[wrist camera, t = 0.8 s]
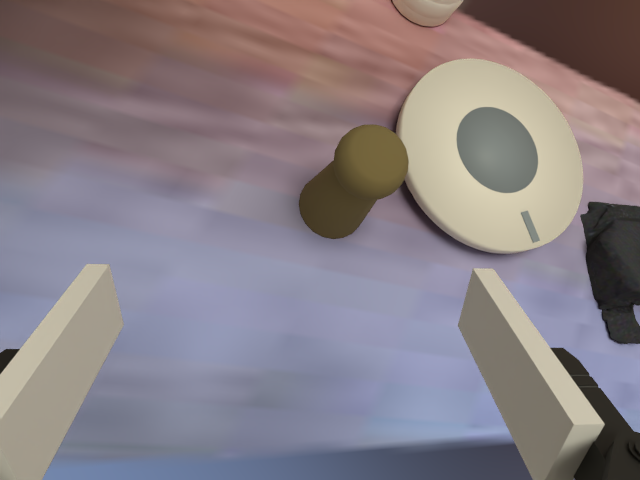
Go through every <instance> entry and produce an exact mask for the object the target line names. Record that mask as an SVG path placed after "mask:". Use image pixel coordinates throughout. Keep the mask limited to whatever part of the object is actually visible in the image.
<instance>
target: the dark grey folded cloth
mask: <svg viewBox="0 0 640 480" xmlns="http://www.w3.org/2000/svg"><path fill="white" fill-rule="evenodd" d="M588 208H589V210H590V211H588V212H587V213H586V214H583V215H581V216H580V217H581V220H582V223H583V227H584V233H585V238H586V243H587V253H586V262H587V268H588V273H589V277H590V281H591V286H592V291H593V295H594V298H595V300H596V301H598V303H599V308H600V309H602V314H603V320H604V321H607V323H608V329H609V331H610V337H611V338H612V339H614V340H616V341H617V342H619V343H623V344H628V343H635V344H640V326H639V324H638V322H637V321H636V319H635V315H634V311H633V306H634V304H635V305H640V207H639V206H629V205H618V204H609V203H601V202H590V203H589V206H588ZM605 309H607V310H605Z"/></svg>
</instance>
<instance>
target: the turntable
mask: <svg viewBox="0 0 640 480" xmlns="http://www.w3.org/2000/svg"><path fill="white" fill-rule="evenodd" d="M396 135H397V136H398V137H399V138H400V139H401V140H402V142H403V144H404V146H405V148H406V151H407V155H408V160H409V164H408V172H407V174H406V177H405V179H404V180H405V182H406V184H407V186H408V188H409V190H410V192H411V194H412V195H413V197H414V199H415V200H416V202H417V203H418V205H419V206H420V207H421V209H422V210H423V211H424V212H425V214H426V215H427V216H428V217H429V218H430V219H431V220H432V221H433V222H434V223H435V224H436V225H437V226H438V227H440V228H441V229H442V230H443V231H444V232H446V233H447V234H449V235H450V236H452V237H453V238H454V239H456V240H458V241H460V242H462V243H464V244H466V245H467V246H470V247H473V248H475V249H478V250H481V251H486V252H490V253H498V254H511V253H519V252H523V251H527V250H530V249H533V248H536V247H539V246H542V245H544V244H546V243H549V242H550V241H552V240H553V239H555V238H556V237H558V236H559V235H560V234H561V233H562V232H563V231H564V230H565V229H566V228H567V227H568V225H569V224H570V223H571V221H572V220H573V218H574V216H575V214H576V212H577V210H578V207H579V204H580V201H581V196H582V190H583V168H582V162H581V156H580V152H579V149H578V145H577V142H576V140H575V137H574V135H573V132H572V131H571V129H570V127H569V125H568V123H567V121H566V119H565V118H564V116H563V115H562V113H561V111H560V110H559V109H558V108H557V106H556V105H555V104H554V102H553V101H552V100H551V99H550V98H549V97H548V96H547V95H546V94H545V93H544V92H543V91H542V90H541V89H540V88H539V87H538V86H537V85H536V84H534V83H533V82H532V81H530V80H529V79H528V78H526V77H525V76H523V75H521V74H520V73H518V72H516V71H515V70H512V69H510V68H508V67H506V66H504V65H501V64H498V63H495V62H491V61H486V60H481V59H459V60H454V61H450V62H447V63H444V64H441V65H439V66H438V67H436V68H434V69H432V70H431V71H430V72H428V73H427V74H426V75H425V76H424V77H423V78H422V79H421V80H420V81H419V82H418V83H417V85H416V86H415V87H414V88H413V90H412V91H411V92H410V93H409V95H408V96H407V98H406V100H405V101H404V103H403V106H402V108H401V110H400V113H399V117H398V121H397V127H396Z"/></svg>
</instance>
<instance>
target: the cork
mask: <svg viewBox="0 0 640 480" xmlns="http://www.w3.org/2000/svg"><path fill="white" fill-rule="evenodd" d="M408 164H409V160H408V155H407V151H406V148H405V146H404V144H403V142H402V140H401V139H400V138H399V137H398V136H397V135H396V134H395V133H394V132H392V131H391V130H389V129H387V128H386V127H382V126H379V125H361V126H359V127H356V128H354V129H352V130H350V131H349V132H348V133H347V134H346V135H345V136H343V137H342V139H341V140H340V142H339V144H338V146H337V148H336V150H335V155H334V161H332V162H331V163H330V164H329V165H328V166H327V167H326V168H324V169H323V170H322V171H321V172H320V173H319V174H318V175H316V176H315V177H314V178H313V179H312V180H311V181H310V182H308V183H307V184H306V185H305V187H304V188H303V190H302V192H301V194H300V200H299V207H300V213H301V216H302V218H303V220H304V222H305V223H306V225H307V226H308V227H309V228H310V229H311V230H312V231H313V232H315V233H317V234H319V235H320V236H322V237H326V238H331V239H336V238H344V237H346V236H348V235H350V234H352V233H353V232H354V231H355V230H356V229H357V228H358V227H359V225H360V224H361V222H362V221H363V220H364V218H365V217H366V215H367V214H368V212H369V211H370V209H371V208H372V206H373V205H374V204H375V202H376V201H377V199H382V198H384V197H386V196H388V195H391V194H392V193H393V192H395V191H396V190H397V189H398V188H399V187H400V186H401V185H402V183H403V181H404V179H405V177H406V174H407V172H408Z"/></svg>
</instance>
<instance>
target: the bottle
mask: <svg viewBox="0 0 640 480" xmlns="http://www.w3.org/2000/svg"><path fill="white" fill-rule="evenodd" d="M392 1H393V4H394V5H395V6H396V8H397V9H398V10H399V12H400V13H401V14H402V15H403V16H405V17H406V18H407V19H409V20H410V21H412V22H414V23H417V24H419V25H422V26H432V27H434V26H437V25H441V24H443V23H444V22H445V21H446V20H447V19H449V17H450V16H451V15H452V13H453V12H454V11H455V10H456V9H457V8H458V7H459V6H460V4H461V3H462V2H463V0H392Z"/></svg>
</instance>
